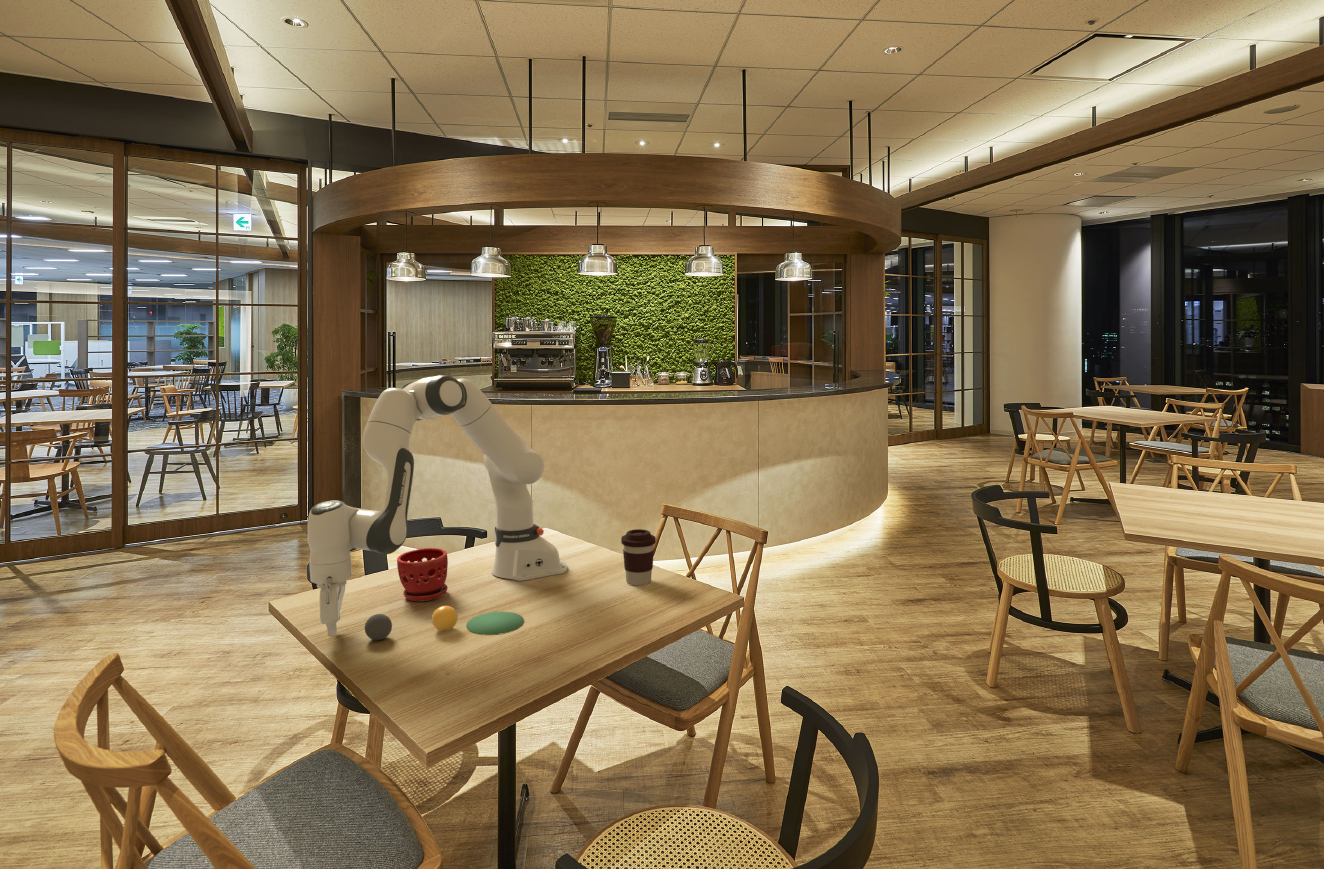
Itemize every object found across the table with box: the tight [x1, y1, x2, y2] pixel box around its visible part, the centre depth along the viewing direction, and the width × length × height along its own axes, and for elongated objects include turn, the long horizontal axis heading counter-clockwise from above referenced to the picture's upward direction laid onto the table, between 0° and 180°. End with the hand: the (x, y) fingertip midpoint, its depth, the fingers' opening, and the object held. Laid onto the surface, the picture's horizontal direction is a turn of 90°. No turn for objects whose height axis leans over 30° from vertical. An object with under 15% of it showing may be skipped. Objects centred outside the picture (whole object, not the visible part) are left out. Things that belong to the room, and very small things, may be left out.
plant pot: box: [396, 547, 449, 602], centre depth 195 cm, size 13×13×12 cm
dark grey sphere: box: [364, 613, 393, 641], centre depth 167 cm, size 6×6×6 cm
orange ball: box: [431, 605, 459, 632], centre depth 172 cm, size 6×6×6 cm
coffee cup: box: [620, 528, 657, 587], centre depth 206 cm, size 10×10×15 cm
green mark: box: [465, 611, 525, 635], centre depth 177 cm, size 14×14×1 cm
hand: (334, 627), depth 168 cm, fingers open, 8 cm apart
